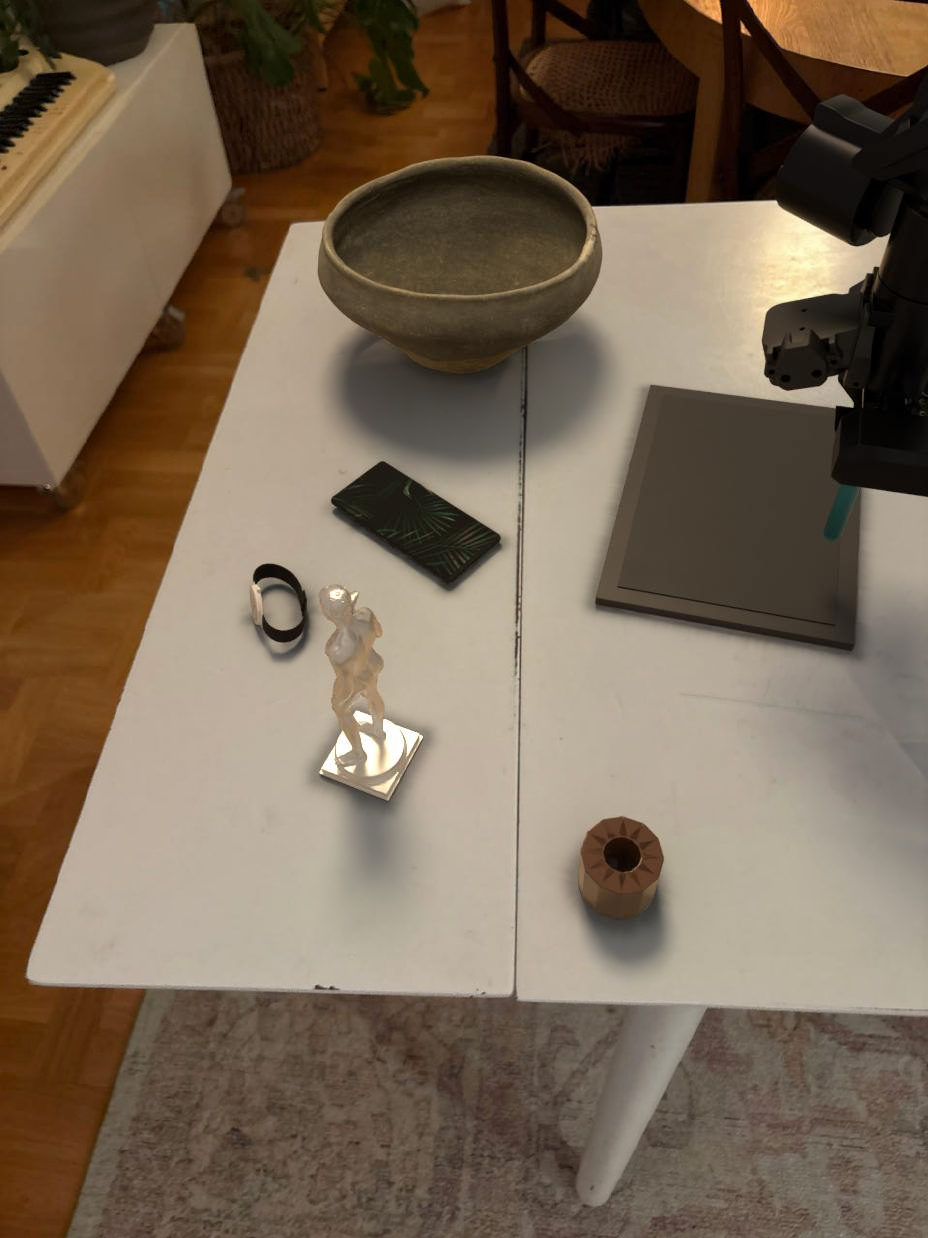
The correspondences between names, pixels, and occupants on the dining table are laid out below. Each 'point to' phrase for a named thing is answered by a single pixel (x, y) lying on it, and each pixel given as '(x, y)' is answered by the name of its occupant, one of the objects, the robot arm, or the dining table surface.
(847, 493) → the stylus
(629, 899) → the pen stand
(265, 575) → the watch
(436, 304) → the bowl
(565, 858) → the dining table surface
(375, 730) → the figurine
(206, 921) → the dining table surface
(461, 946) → the dining table surface
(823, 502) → the tablet
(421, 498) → the smartphone
